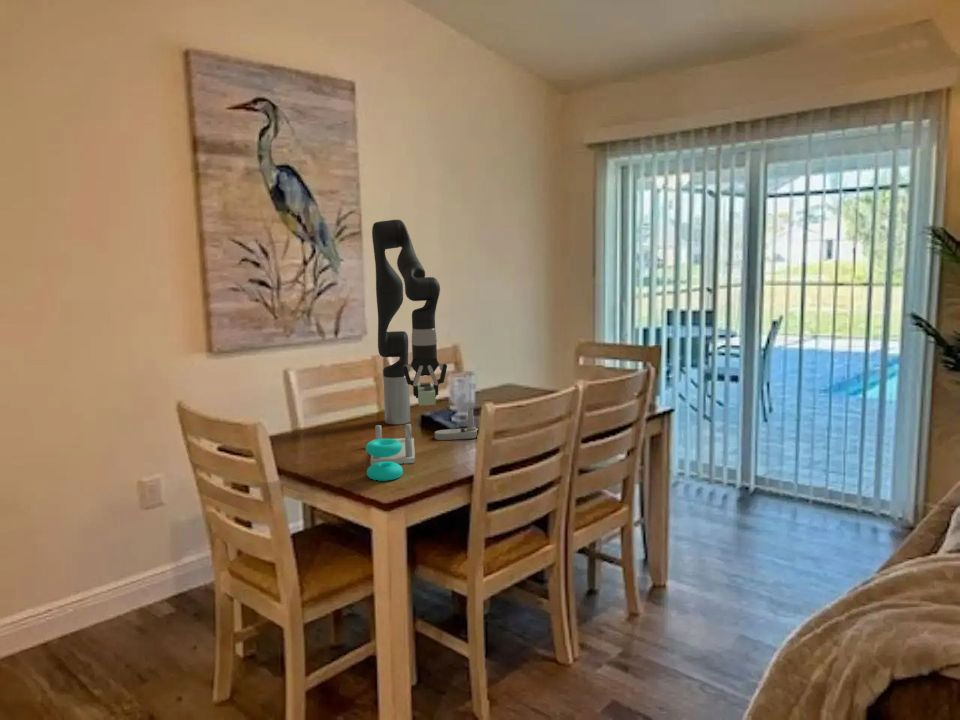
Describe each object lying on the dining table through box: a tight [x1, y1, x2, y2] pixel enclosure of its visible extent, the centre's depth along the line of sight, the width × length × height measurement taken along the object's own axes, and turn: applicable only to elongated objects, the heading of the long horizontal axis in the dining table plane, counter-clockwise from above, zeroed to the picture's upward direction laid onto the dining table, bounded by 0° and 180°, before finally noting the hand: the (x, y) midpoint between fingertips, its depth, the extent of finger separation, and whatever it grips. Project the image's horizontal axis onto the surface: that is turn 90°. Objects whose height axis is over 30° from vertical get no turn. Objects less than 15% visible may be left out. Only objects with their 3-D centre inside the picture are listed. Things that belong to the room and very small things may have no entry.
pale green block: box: [417, 381, 437, 407], centre depth 232 cm, size 14×5×5 cm, turn 7°
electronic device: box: [434, 408, 479, 441], centre depth 249 cm, size 5×10×15 cm
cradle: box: [370, 423, 416, 466], centre depth 232 cm, size 24×13×6 cm, turn 6°
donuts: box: [365, 438, 404, 482], centre depth 208 cm, size 10×10×10 cm
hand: (425, 396), depth 232 cm, fingers closed on pale green block, 5 cm apart
